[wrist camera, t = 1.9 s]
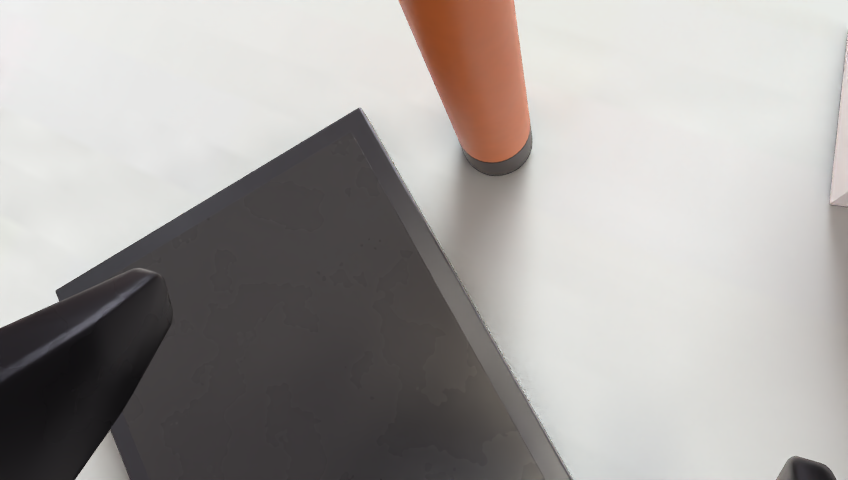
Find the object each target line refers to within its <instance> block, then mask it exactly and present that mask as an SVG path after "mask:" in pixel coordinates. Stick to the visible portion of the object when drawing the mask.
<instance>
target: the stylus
mask: <svg viewBox="0 0 848 480" xmlns="http://www.w3.org/2000/svg"><path fill="white" fill-rule="evenodd" d="M399 2H400V5H401V7H402V9H403V12H404V14H405V16H406V19H407V21H408V23H409V26H410V28H411V30H412V33H413V35H414V37H415V40H416V42H417V44H418V47H419V49H420V51H421V54H422V56H423V58H424V61H425V63H426V65H427V68H428V70H429V72H430V75H431V77H432V79H433V82H434V84H435V86H436V89H437V91H438V93H439V96H440V98H441V100H442V103H443V105H444V107H445V109H446V112H447V114H448V116H449V119H450V121H451V123H452V126H453V128H454V130H455V133H456V135H457V137H458V140H459V142H460V144H461V147H462V149H463V151H464V154H465V156H466V158H467V160H468V161H469V163H470V164H471V165H472V166H473V167H474V168H475V169H477V170H478V171H480V172H482V173H485V174H488V175H504V174H508V173H511V172H513V171H515V170H516V169H518V168H519V167H520V166H521V165H522V164H523V163H524V162H525V161H526V159H527V158H528V156H529V154H530V151H531V148H532V133H531V126H530V118H529V111H528V103H527V96H526V88H525V81H524V73H523V66H522V58H521V51H520V43H519V36H518V29H517V21H516V14H515V6H514V0H399Z"/></svg>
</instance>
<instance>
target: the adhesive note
mask: <svg viewBox="0 0 848 480" xmlns="http://www.w3.org/2000/svg"><path fill="white" fill-rule="evenodd" d="M829 204H830V205H837V206H845V207H848V36H847V45H846V54H845V63H844V73H843V82H842V91H841V100H840V109H839V119H838V128H837V137H836V146H835V155H834V165H833V174H832V183H831V192H830V201H829Z"/></svg>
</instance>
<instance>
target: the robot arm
mask: <svg viewBox="0 0 848 480" xmlns="http://www.w3.org/2000/svg"><path fill="white" fill-rule="evenodd" d="M172 320H173V308H172V305H171V301H170V297H169V294H168V290H167V286H166V283H165V280H164V278H163V276H162V275H161V274H159V273H156V272H153V271H149V270H146V269H142V268H135V269H132V270H129V271H127V272H124V273H122V274H120V275H118V276H116V277H113V278H111V279H109V280H107V281H104V282H102V283H100V284H98V285H96V286H93V287H91V288H89V289H87V290H84V291H82V292H80V293H78V294H76V295H73V296H71V297H69V298H67V299H64V300H62V301H60V302H58V303H55V304H53V305H51V306H49V307H47V308H44V309H42V310H40V311H38V312H35V313H33V314H31V315H29V316H27V317H24V318H22V319H20V320H18V321H15V322H13V323H11V324H9V325H7V326H4V327H2V328H0V480H75V479H76V477H77V476H78V474H79V473H80V472H81V470H82V469H83V467H84V466H85V464H86V463H87V462H88V460H89V459H90V457H91V456H92V454H93V453H94V452H95V450H96V449H97V447H98V446H99V444H100V443H101V442H102V440H103V439H104V437H105V436H106V434H107V433H108V432H109V430H110V429H111V427H112V426H113V424H114V423H115V422H116V420H117V419H118V417H119V416H120V414H121V413H122V411H123V409H124V408H125V406H126V405H127V403H128V401H129V400H130V398H131V396H132V395H133V393H134V391H135V389H136V387H137V386H138V384H139V382H140V380H141V378H142V377H143V375H144V373H145V371H146V369H147V368H148V366H149V364H150V362H151V360H152V359H153V357H154V355H155V353H156V351H157V350H158V348H159V346H160V344H161V342H162V341H163V339H164V337H165V335H166V333H167V332H168V330H169V328H170V326H171V323H172ZM776 480H836V478H835V476H834V474H833V473H832V471H831V470H830V469H829V468H828V467H827V466H826V465H824V464H822V463H819V462H815V461H812V460H808V459H805V458H801V457H798V456H794V457H791V458H790V459H789V460H788V461H787V462H786V464H785V465H784V467H783V469H782V471H781V472H780V474H779V476H778V477H777V479H776Z"/></svg>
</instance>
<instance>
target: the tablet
mask: <svg viewBox="0 0 848 480" xmlns="http://www.w3.org/2000/svg"><path fill="white" fill-rule="evenodd" d="M135 268H142V269H146V270H149V271H153V272H156V273H159V274H161V275H162V276H163V278H164V280H165V283H166V286H167V290H168V294H169V297H170V301H171V305H172V308H173V320H172V323H171V326H170V328H169V330H168V332H167V333H166V335H165V337H164V339H163V341H162V342H161V344H160V346H159V348H158V350H157V351H156V353H155V355H154V357H153V359H152V360H151V362H150V364H149V366H148V368H147V369H146V371H145V373H144V375H143V377H142V378H141V380H140V382H139V384H138V386H137V387H136V389H135V391H134V393H133V395H132V396H131V398H130V400H129V401H128V403H127V405H126V406H125V408H124V409H123V411H122V413H121V414H120V416H119V417H118V419H117V420H116V422H115V423H114V424H113V426H112V427H111V429H110V430H111V432H112V435H113V437H114V440H115V442H116V445H117V447H118V450H119V452H120V455H121V457H122V460H123V462H124V465H125V467H126V470H127V472H128V475H129V477H130V480H573V478H572V477H571V475H570V473H569V471H568V470H567V468H566V466H565V464H564V463H563V461H562V459H561V457H560V456H559V454H558V452H557V450H556V449H555V447H554V445H553V443H552V441H551V440H550V438H549V436H548V434H547V433H546V431H545V429H544V427H543V426H542V424H541V422H540V420H539V419H538V417H537V415H536V413H535V412H534V410H533V408H532V406H531V405H530V403H529V401H528V399H527V397H526V396H525V394H524V392H523V390H522V389H521V387H520V385H519V383H518V382H517V380H516V378H515V376H514V375H513V373H512V371H511V369H510V368H509V366H508V364H507V362H506V361H505V359H504V357H503V355H502V353H501V352H500V350H499V348H498V346H497V345H496V343H495V341H494V339H493V338H492V336H491V334H490V332H489V331H488V329H487V327H486V325H485V324H484V322H483V320H482V318H481V317H480V315H479V313H478V311H477V309H476V308H475V306H474V304H473V302H472V301H471V299H470V297H469V295H468V294H467V292H466V290H465V288H464V287H463V285H462V283H461V281H460V280H459V278H458V276H457V274H456V273H455V271H454V269H453V267H452V265H451V264H450V262H449V260H448V258H447V257H446V255H445V253H444V251H443V250H442V248H441V246H440V244H439V243H438V241H437V239H436V237H435V236H434V234H433V232H432V230H431V229H430V227H429V225H428V223H427V221H426V220H425V218H424V216H423V214H422V213H421V211H420V209H419V207H418V206H417V204H416V202H415V200H414V199H413V197H412V195H411V193H410V192H409V190H408V188H407V186H406V185H405V183H404V181H403V179H402V177H401V176H400V174H399V172H398V170H397V169H396V167H395V165H394V163H393V162H392V160H391V158H390V156H389V155H388V153H387V151H386V149H385V148H384V146H383V144H382V142H381V141H380V139H379V137H378V135H377V133H376V132H375V130H374V128H373V126H372V125H371V123H370V121H369V119H368V118H367V116H366V114H365V113H364V112H363V110H362V109H361V108H358V109H356V110H354V111H353V112H351V113H349V114H348V115H346V116H344V117H343V118H341V119H339V120H338V121H336V122H334V123H333V124H331V125H329V126H328V127H326V128H324V129H323V130H321V131H319V132H318V133H316V134H314V135H313V136H311V137H310V138H308V139H306V140H305V141H303V142H301V143H300V144H298V145H296V146H295V147H293V148H291V149H290V150H288V151H286V152H285V153H283V154H281V155H280V156H278V157H276V158H275V159H273V160H271V161H270V162H268V163H266V164H265V165H263V166H261V167H260V168H258V169H256V170H255V171H253V172H251V173H250V174H248V175H246V176H245V177H243V178H242V179H240V180H238V181H237V182H235V183H233V184H232V185H230V186H228V187H227V188H225V189H223V190H222V191H220V192H218V193H217V194H215V195H213V196H212V197H210V198H208V199H207V200H205V201H203V202H202V203H200V204H198V205H197V206H195V207H193V208H192V209H190V210H188V211H187V212H185V213H183V214H182V215H180V216H178V217H177V218H175V219H173V220H172V221H170V222H169V223H167V224H165V225H164V226H162V227H160V228H159V229H157V230H155V231H154V232H152V233H150V234H149V235H147V236H145V237H144V238H142V239H140V240H139V241H137V242H135V243H134V244H132V245H130V246H129V247H127V248H125V249H124V250H122V251H120V252H119V253H117V254H115V255H114V256H112V257H110V258H109V259H107V260H105V261H104V262H102V263H100V264H99V265H97V266H96V267H94V268H92V269H91V270H89V271H87V272H86V273H84V274H82V275H81V276H79V277H77V278H76V279H74V280H72V281H71V282H69V283H67V284H66V285H64V286H62V287H61V288H59V289H57V290H56V294H57V296H58V299H59V301H62V300H64V299H67V298H69V297H71V296H73V295H76V294H78V293H80V292H82V291H84V290H87V289H89V288H91V287H93V286H96V285H98V284H100V283H102V282H104V281H107V280H109V279H111V278H113V277H116V276H118V275H120V274H122V273H124V272H127V271H129V270H132V269H135Z"/></svg>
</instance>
